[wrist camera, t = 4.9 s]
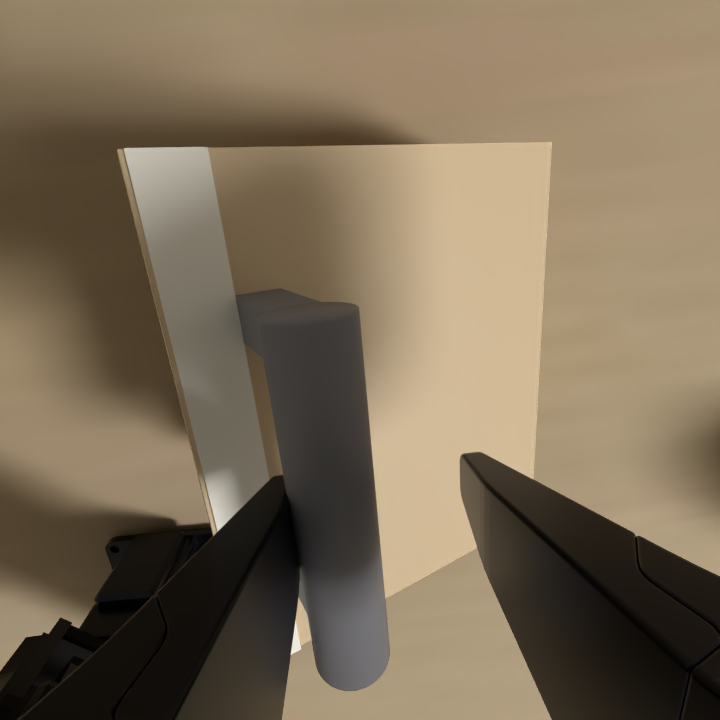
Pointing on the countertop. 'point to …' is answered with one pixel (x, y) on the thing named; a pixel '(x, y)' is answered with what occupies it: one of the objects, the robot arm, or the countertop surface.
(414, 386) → the beige handled lid
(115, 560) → the robot arm
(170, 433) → the countertop surface
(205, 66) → the countertop surface
